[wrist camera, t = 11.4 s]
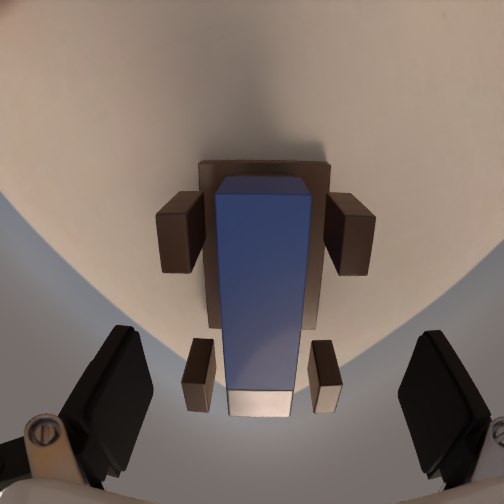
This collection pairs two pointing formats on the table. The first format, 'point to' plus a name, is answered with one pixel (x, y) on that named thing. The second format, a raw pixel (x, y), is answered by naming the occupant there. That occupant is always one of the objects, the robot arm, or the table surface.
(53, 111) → the table surface
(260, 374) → the blue eraser block
